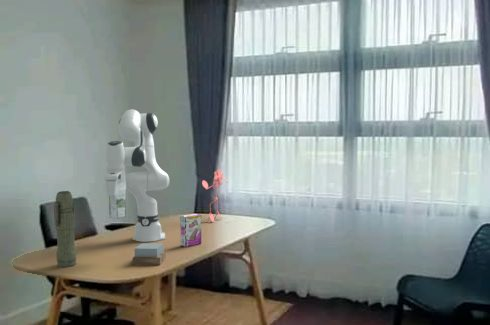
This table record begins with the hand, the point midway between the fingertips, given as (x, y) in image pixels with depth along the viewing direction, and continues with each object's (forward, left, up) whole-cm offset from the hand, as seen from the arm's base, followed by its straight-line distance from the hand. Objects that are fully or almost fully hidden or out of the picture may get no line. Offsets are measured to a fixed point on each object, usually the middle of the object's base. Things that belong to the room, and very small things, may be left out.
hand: (117, 202), depth 269 cm
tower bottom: (+5, +16, -29) cm, 33 cm away
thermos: (+11, -22, -28) cm, 37 cm away
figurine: (-99, +39, -28) cm, 110 cm away
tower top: (+4, +16, -25) cm, 30 cm away
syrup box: (0, 0, -8) cm, 8 cm away
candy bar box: (-30, +31, -28) cm, 51 cm away
